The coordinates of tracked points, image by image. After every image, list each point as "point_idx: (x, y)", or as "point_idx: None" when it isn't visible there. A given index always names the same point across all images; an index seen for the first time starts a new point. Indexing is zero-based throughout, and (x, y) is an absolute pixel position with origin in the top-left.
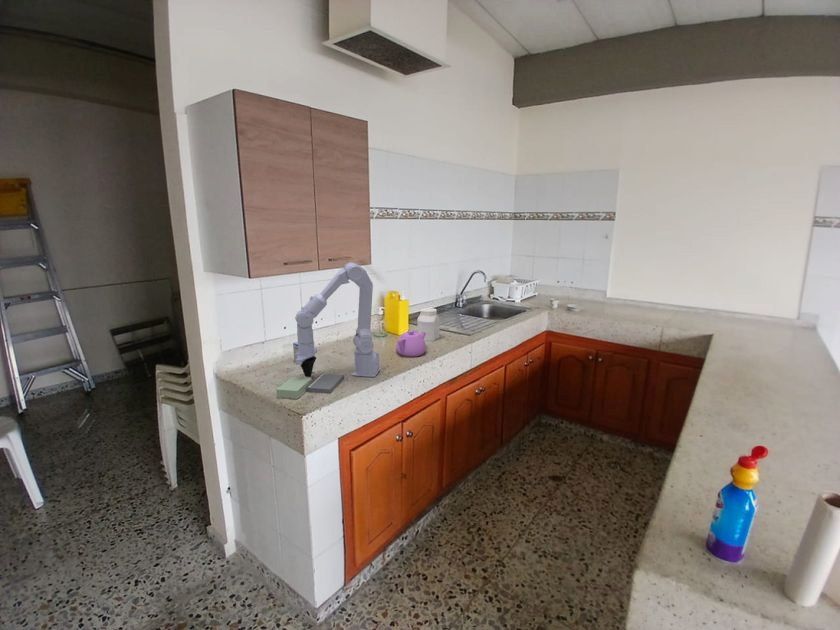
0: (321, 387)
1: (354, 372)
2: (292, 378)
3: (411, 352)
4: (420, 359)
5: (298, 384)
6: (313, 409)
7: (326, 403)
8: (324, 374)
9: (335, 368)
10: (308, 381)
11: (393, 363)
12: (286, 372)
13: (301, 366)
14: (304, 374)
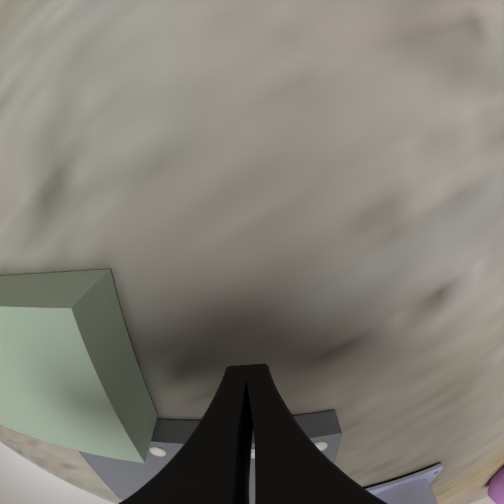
0: (111, 479)
1: (385, 488)
2: (42, 330)
3: (491, 492)
4: (466, 498)
5: (11, 409)
6: (5, 442)
7: (54, 472)
8: (322, 451)
9: (479, 385)
10: (88, 450)
11: (460, 486)
12: (400, 29)
13: (167, 468)
14: (223, 380)
